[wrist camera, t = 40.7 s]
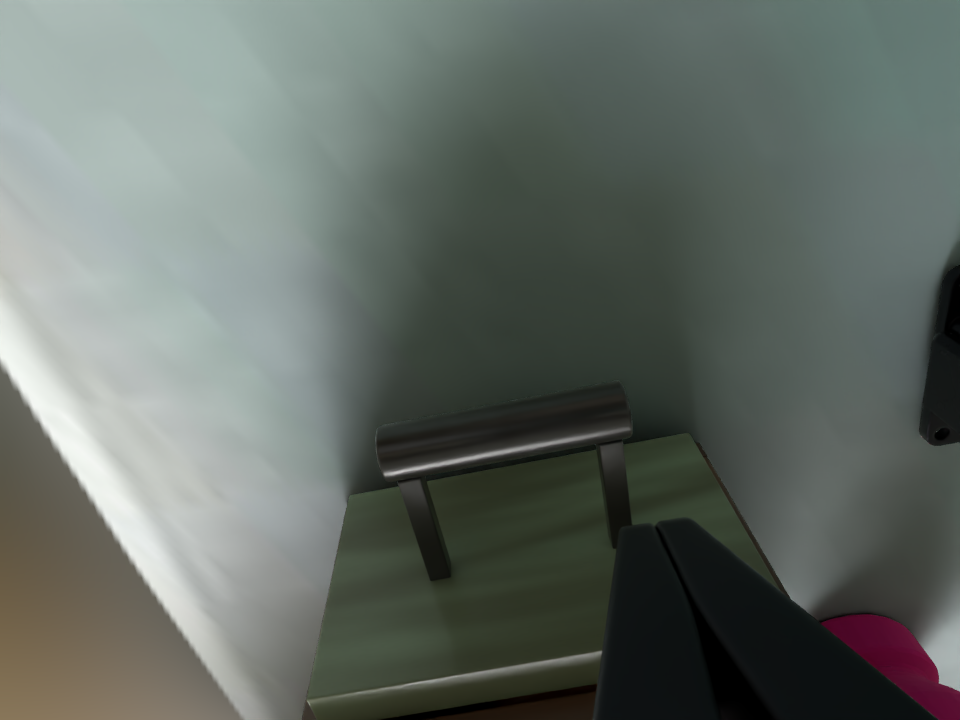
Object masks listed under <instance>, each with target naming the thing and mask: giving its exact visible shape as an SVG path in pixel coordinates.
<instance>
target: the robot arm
mask: <svg viewBox="0 0 960 720" xmlns="http://www.w3.org/2000/svg"><path fill="white" fill-rule="evenodd" d="M939 429H940V430H939ZM937 430H939V431H937ZM936 431H937V432H936ZM919 432H920V435H921V436H922V438H924V439H925V440H926V441H927V442H928V443H929V444H931V445H934V446H941V445H946V444H952V443H957V442H960V265H958V266H955V267H954V268H952V269H951V270H950V271H949V272H948V273H947V274H946V276H945V277H944V280H943V282H942V288H941V294H940V301H939V307H938V314H937V320H936V326H935V333H934V339H933V341H932V347H931V353H930V359H929V366H928V372H927V379H926V385H925V391H924V398H923V409H922V416H921V422H920V428H919ZM592 720H939V719H937V718H936V717H935V716H934V715H932V714H931V713H930V712H929V711H928V710H926V709H925V708H924V707H923V706H921V705H920V704H919V703H918V702H916V701H915V700H914V699H913V698H912V697H910V696H909V695H908V694H907V693H905V692H904V691H903V690H902V689H901V688H899V687H898V686H897V685H896V684H894V683H893V682H892V681H891V680H889V679H888V678H887V677H886V676H885V675H883V674H882V673H881V672H880V671H878V670H877V669H876V668H875V667H874V666H872V665H871V664H870V663H869V662H867V661H866V660H865V659H864V658H862V657H861V656H860V655H859V654H858V653H856V652H855V651H854V650H853V649H851V648H850V647H849V646H848V645H847V644H845V643H844V642H843V641H842V640H840V639H839V638H838V637H837V636H835V635H834V634H833V633H832V632H831V631H829V630H828V629H827V628H826V627H824V626H823V625H822V624H821V623H820V622H818V621H817V620H816V619H815V618H813V617H812V616H811V615H810V614H808V613H807V612H806V611H805V610H804V609H802V608H801V607H800V606H799V605H797V604H796V603H795V602H794V601H793V600H791V599H790V598H789V597H788V596H786V595H785V594H784V593H783V592H781V591H780V590H779V589H778V588H777V587H775V586H774V585H773V584H772V583H770V582H769V581H768V580H767V579H766V578H764V577H763V576H762V575H761V574H759V573H758V572H757V571H756V570H754V569H753V568H752V567H751V566H750V565H748V564H747V563H746V562H745V561H743V560H742V559H741V558H740V557H739V556H737V555H736V554H735V553H734V552H732V551H731V550H730V549H729V548H727V547H726V546H725V545H724V544H723V543H721V542H720V541H719V540H718V539H716V538H715V537H714V536H713V535H712V534H710V533H709V532H708V531H707V530H705V529H704V528H703V527H702V526H700V525H699V524H698V523H697V522H696V521H694V520H693V519H691V518H688V517H681V518H675V519H668V520H662V521H659V522H657V523H656V525H655V526H654V525H653V524H651V523H643V524H637V525H630V526H624V527H622V528H621V529H620V531H619V534H618V541H617V548H616V555H615V562H614V569H613V576H612V583H611V590H610V597H609V604H608V611H607V619H606V626H605V633H604V640H603V647H602V654H601V661H600V668H599V675H598V682H597V689H596V696H595V703H594V710H593V717H592Z"/></svg>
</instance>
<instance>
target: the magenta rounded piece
mask: <svg viewBox="0 0 960 720" xmlns="http://www.w3.org/2000/svg"><path fill="white" fill-rule="evenodd" d="M821 624H822V625H823V626H824V627H826V628H827V629H828V630H829V631H831V632H832V633H833V634H834V635H835V636H837V637H838V638H839V639H840V640H842V641H843V642H844V643H845V644H847V645H848V646H849V647H850V648H851V649H853V650H854V651H855V652H856V653H858V654H859V655H860V656H861V657H862V658H864V659H865V660H866V661H867V662H869V663H870V664H871V665H872V666H874V667H875V668H876V669H877V670H878V671H880V672H881V673H882V674H883V675H885V676H886V677H887V678H888V679H889V680H891V681H892V682H893V683H894V684H896V685H897V686H898V687H899V688H901V689H902V690H903V691H904V692H905V693H907V694H908V695H909V696H910V697H912V698H913V699H914V700H915V701H916V702H918V703H919V704H920V705H921V706H923V707H924V708H925V709H926V710H928V711H929V712H930V713H931V714H932V715H934V716H935V717H936V718H937V719H939V720H960V692H959V691H957V690H955V689H953V688H950V687H948V686H945V685H942V684H939V675H938V670H937V668H936V666H935V664H934V663H933V661H932V660H931V659H930V657H929V656H928V655H927V653H926V652H925V651H924V649H923V648H922V647H921V645H920V644H919V643H918V641H917V640H916V639H915V637H914V636H913V635H912V633H911V632H910V631H909V630H908V629H907V628H906V627H905V626H903V625H902V624H900V623H898V622H896V621H894V620H892V619H889V618H887V617H883V616H877V615H871V614H861V615H848V616H843V617H838V618H833V619H829V620H827V621H824V622H822V623H821Z"/></svg>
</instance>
